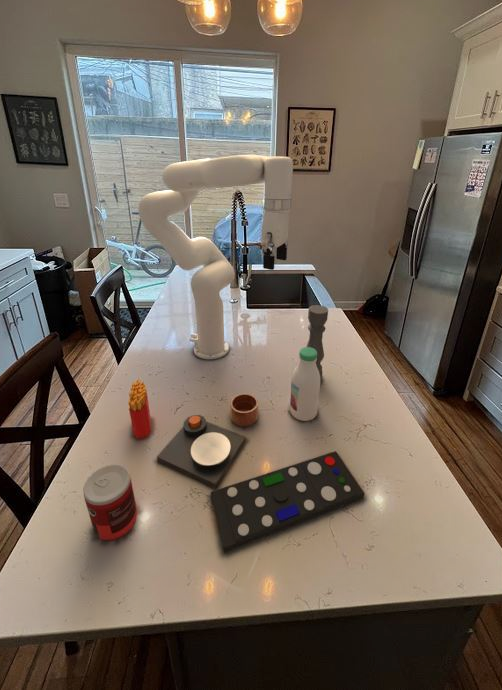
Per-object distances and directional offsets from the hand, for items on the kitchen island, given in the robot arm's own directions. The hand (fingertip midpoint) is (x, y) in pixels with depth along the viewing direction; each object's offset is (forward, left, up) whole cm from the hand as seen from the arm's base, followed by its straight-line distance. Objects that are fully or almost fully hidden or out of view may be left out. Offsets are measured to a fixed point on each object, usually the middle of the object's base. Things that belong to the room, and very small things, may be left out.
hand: (275, 264), depth 97 cm
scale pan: (+1, -39, -34) cm, 52 cm away
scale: (-2, -38, -37) cm, 53 cm away
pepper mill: (+14, 0, -37) cm, 40 cm away
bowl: (+2, -24, -37) cm, 44 cm away
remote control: (+21, -40, -37) cm, 58 cm away
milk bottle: (+16, -15, -37) cm, 43 cm away
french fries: (-20, -39, -37) cm, 57 cm away
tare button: (-7, -34, -34) cm, 49 cm away
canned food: (-8, -59, -37) cm, 70 cm away
